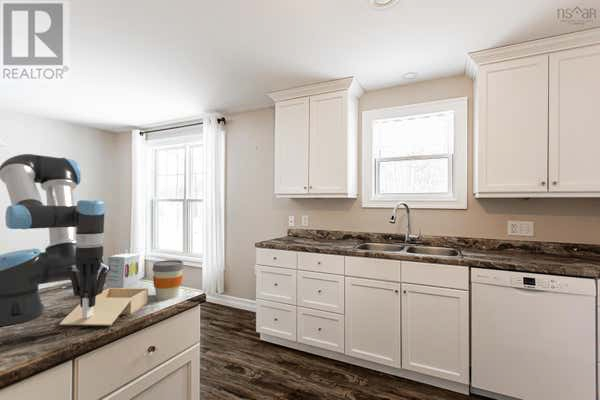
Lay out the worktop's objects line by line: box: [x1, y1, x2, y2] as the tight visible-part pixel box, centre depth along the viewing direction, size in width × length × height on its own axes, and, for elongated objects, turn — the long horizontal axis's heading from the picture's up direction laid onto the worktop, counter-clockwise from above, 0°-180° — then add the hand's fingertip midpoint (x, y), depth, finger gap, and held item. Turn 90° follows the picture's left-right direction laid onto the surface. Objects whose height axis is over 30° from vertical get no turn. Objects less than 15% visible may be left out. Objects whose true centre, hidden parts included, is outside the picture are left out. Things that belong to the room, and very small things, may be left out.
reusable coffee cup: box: [152, 259, 184, 301], centre depth 123 cm, size 13×13×15 cm
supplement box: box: [105, 252, 140, 290], centre depth 129 cm, size 10×9×17 cm
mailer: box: [96, 288, 149, 316], centre depth 107 cm, size 16×12×6 cm
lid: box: [59, 298, 131, 326], centre depth 95 cm, size 16×12×1 cm
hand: (87, 316), depth 92 cm, fingers closed
